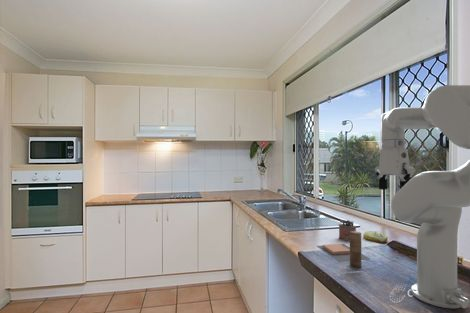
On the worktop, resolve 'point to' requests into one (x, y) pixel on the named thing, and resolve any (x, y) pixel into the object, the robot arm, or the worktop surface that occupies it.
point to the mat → (342, 255)
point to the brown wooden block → (355, 249)
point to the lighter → (346, 229)
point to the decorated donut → (375, 236)
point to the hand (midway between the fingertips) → (393, 190)
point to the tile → (336, 249)
